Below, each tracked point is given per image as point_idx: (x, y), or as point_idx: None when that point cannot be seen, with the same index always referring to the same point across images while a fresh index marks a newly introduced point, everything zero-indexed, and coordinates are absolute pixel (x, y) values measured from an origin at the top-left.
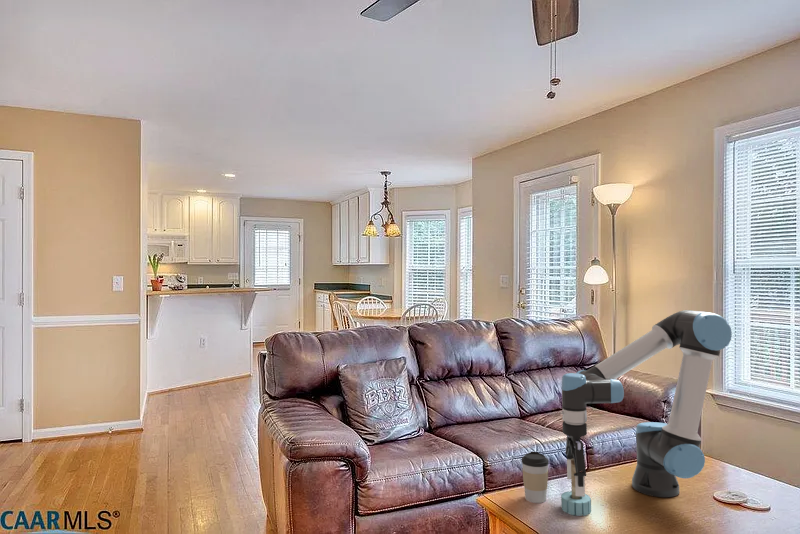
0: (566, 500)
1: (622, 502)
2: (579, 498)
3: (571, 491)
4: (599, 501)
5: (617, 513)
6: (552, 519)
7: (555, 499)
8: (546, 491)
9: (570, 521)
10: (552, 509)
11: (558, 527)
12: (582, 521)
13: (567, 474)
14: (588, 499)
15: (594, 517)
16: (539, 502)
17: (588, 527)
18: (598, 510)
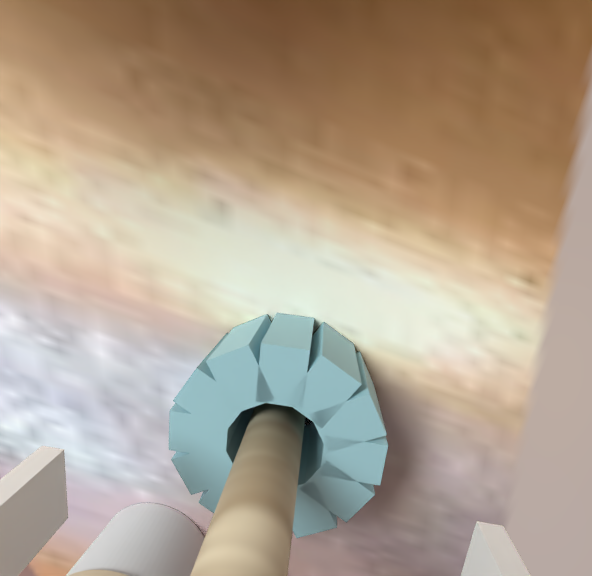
0: (333, 528)
1: (173, 34)
2: (289, 425)
3: (173, 442)
4: (167, 208)
5: (354, 150)
6: (403, 550)
7: (157, 459)
8: (147, 557)
9: (437, 476)
10: None
11: None
12: (445, 415)
13: (23, 562)
14: (321, 373)
15: (400, 328)
16: None
17: (526, 410)
18: (303, 266)
